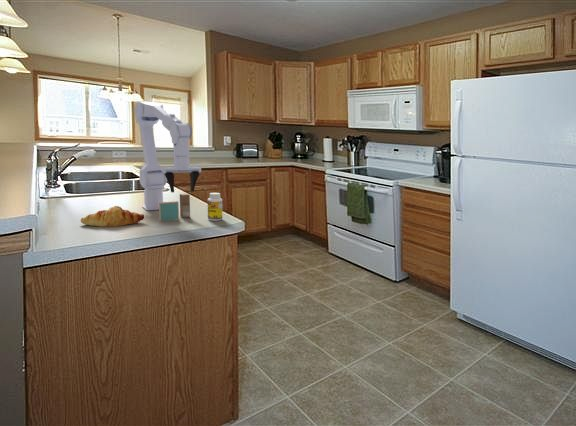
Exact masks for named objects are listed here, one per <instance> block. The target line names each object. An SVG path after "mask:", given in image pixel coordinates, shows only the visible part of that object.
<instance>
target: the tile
mask: <svg viewBox="0 0 576 426" xmlns="http://www.w3.org/2000/svg"><path fill="white" fill-rule="evenodd" d="M158 214H159V215H158V216H159V217H158V218H159V219H158V220H159V222H168V221H169V222H170V220H171V221H179V220H180V203H179V201H178V200H176V201H175V200H174V201H173V200H172V201H163V202H159V210H158Z"/></svg>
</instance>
